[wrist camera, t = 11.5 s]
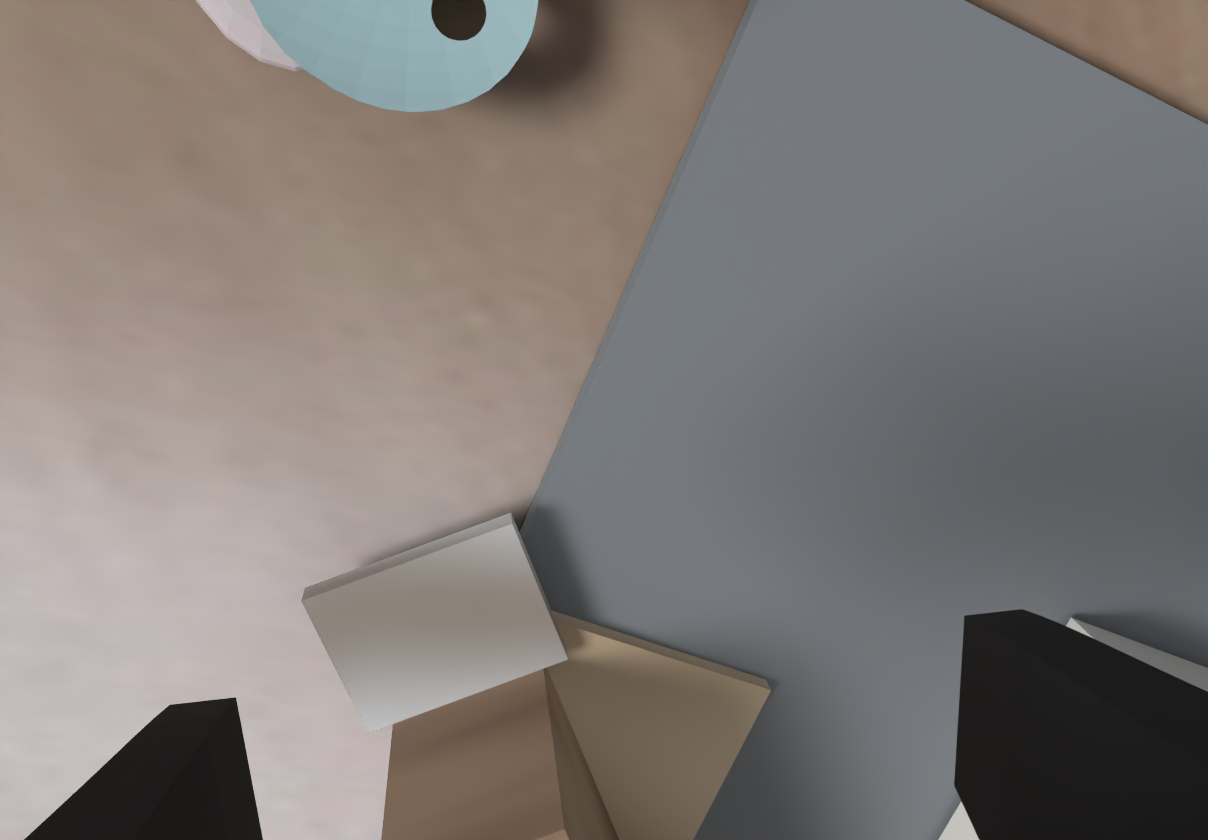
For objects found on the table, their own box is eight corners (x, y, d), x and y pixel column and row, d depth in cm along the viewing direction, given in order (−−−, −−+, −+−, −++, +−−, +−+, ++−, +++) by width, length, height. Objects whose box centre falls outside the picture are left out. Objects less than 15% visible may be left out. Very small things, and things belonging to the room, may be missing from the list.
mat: (784, -82, 18) (795, -86, 18) (1516, 290, 22) (1543, 296, 22) (316, 1001, 24) (312, 1023, 24) (958, 1142, 28) (968, 1164, 28)
